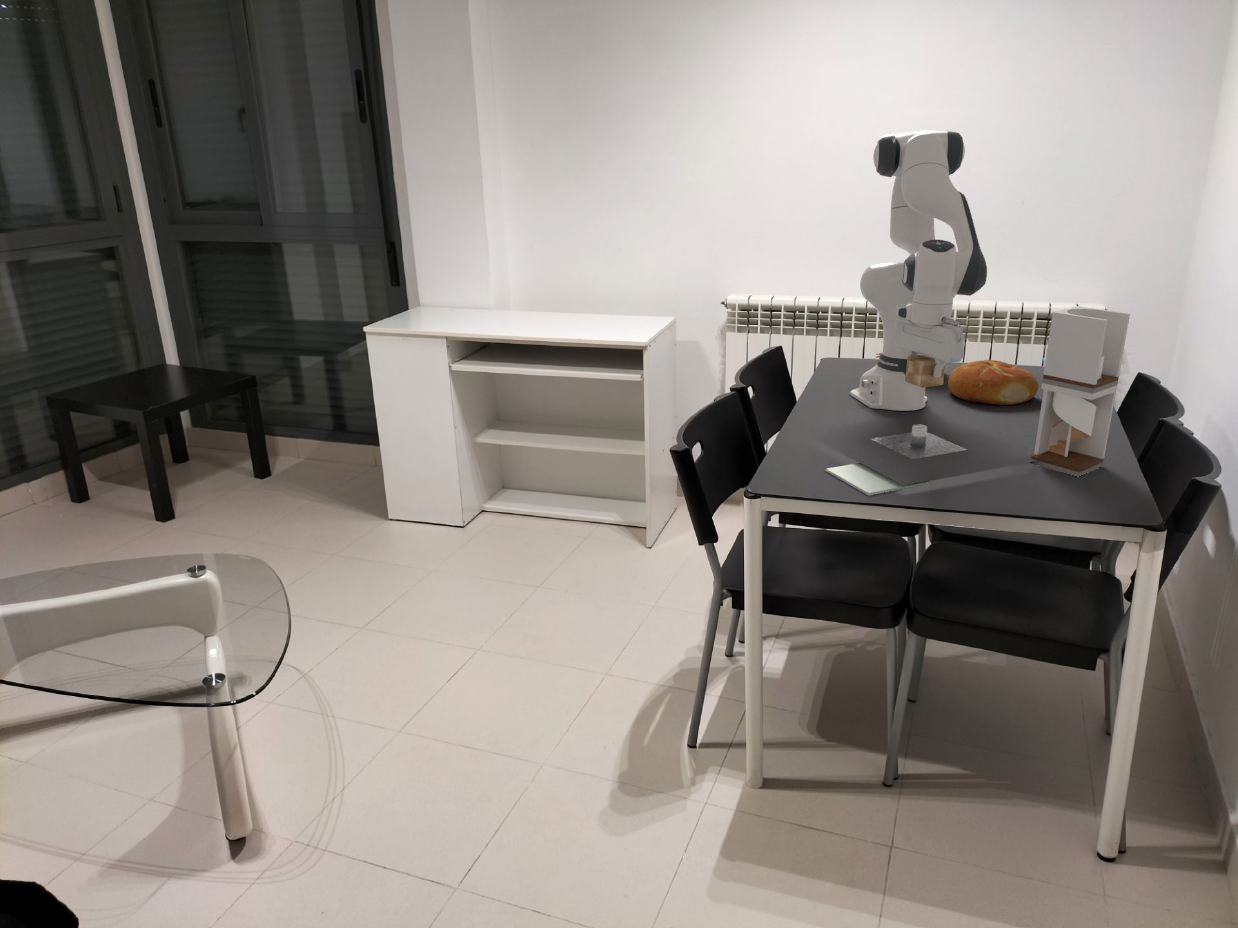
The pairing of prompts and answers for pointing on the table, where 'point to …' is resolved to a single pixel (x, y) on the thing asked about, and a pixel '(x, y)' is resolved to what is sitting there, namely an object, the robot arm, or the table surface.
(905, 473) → the table surface
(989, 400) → the bread
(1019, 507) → the table surface
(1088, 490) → the table surface
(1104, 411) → the white tall layered tower
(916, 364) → the oak block
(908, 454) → the post mount
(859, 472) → the sage mat
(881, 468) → the table surface
